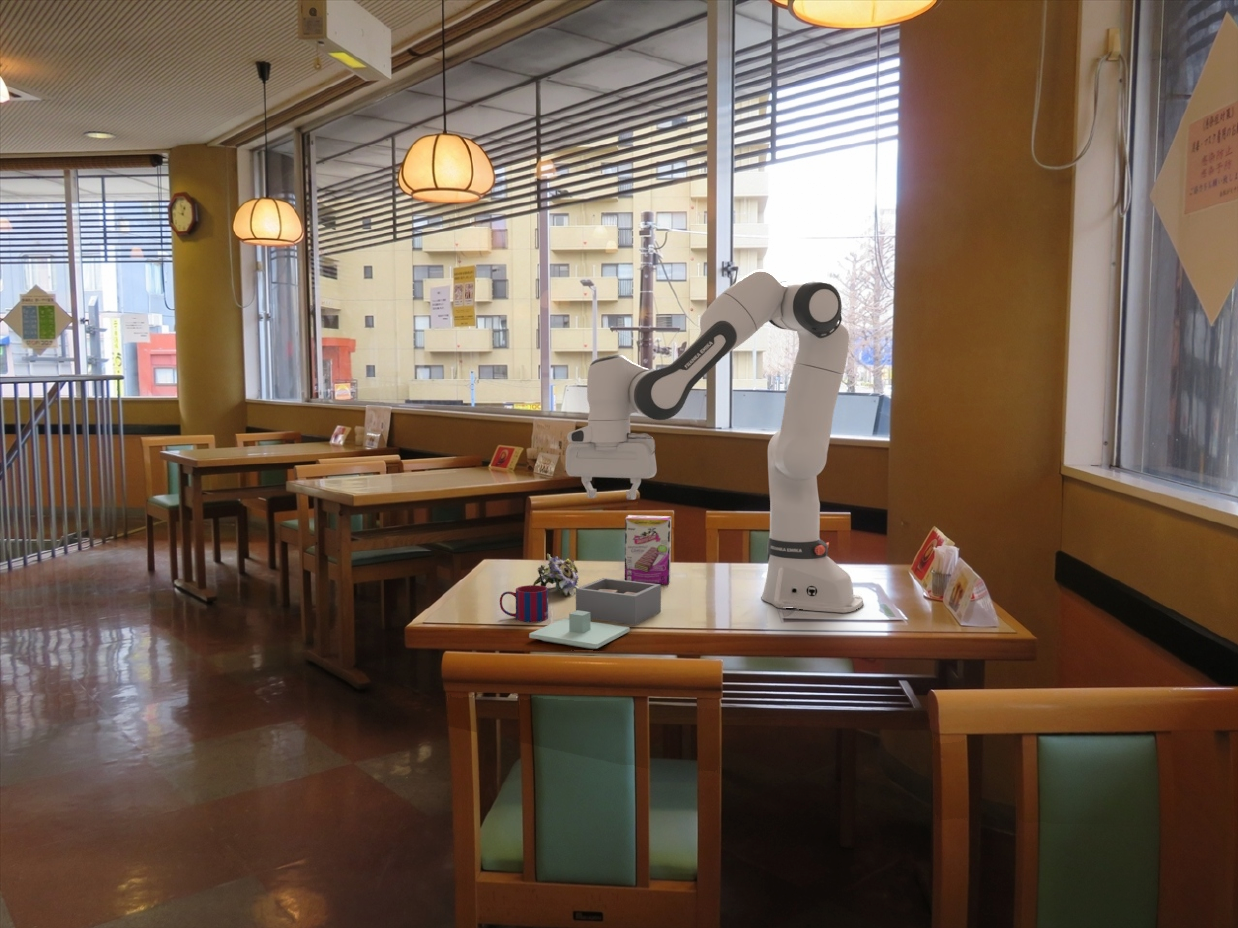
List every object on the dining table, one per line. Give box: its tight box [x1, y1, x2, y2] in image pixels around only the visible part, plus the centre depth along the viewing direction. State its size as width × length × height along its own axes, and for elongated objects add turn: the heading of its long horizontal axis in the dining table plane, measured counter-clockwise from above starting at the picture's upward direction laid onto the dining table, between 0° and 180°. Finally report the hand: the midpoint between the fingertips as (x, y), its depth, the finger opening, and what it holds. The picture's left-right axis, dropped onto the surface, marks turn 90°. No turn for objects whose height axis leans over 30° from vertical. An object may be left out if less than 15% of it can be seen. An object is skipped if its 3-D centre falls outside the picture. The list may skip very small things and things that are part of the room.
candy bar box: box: [624, 514, 672, 586], centre depth 233 cm, size 11×5×16 cm, turn 84°
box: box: [575, 577, 662, 626], centre depth 201 cm, size 14×12×6 cm
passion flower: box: [532, 553, 579, 597], centre depth 220 cm, size 11×11×12 cm
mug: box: [499, 584, 549, 623], centre depth 198 cm, size 7×10×7 cm
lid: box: [528, 610, 631, 650], centre depth 185 cm, size 15×13×6 cm
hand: (611, 498), depth 200 cm, fingers open, 8 cm apart
